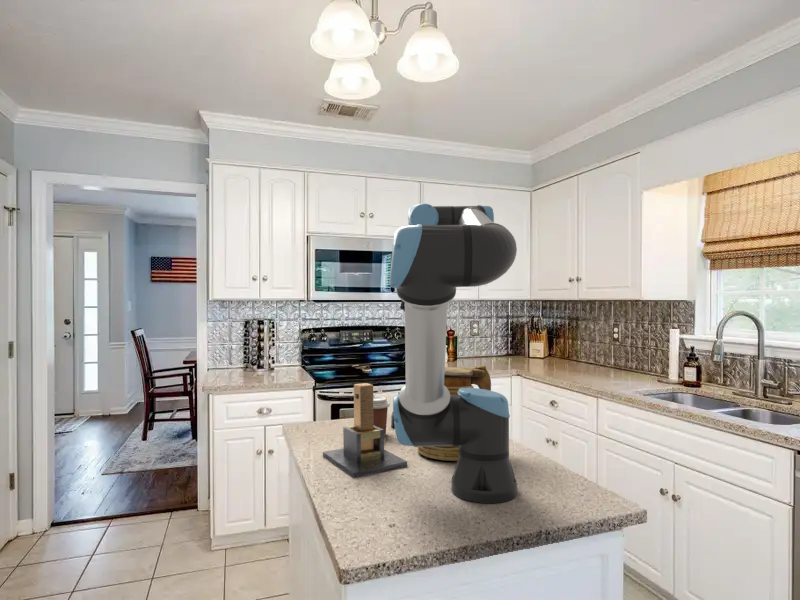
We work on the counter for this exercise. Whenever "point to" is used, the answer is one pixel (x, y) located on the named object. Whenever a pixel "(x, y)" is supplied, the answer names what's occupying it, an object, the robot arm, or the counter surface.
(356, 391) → the tapered wooden post
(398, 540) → the counter surface
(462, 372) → the tankard
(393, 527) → the counter surface
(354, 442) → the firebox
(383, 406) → the coffee cup
